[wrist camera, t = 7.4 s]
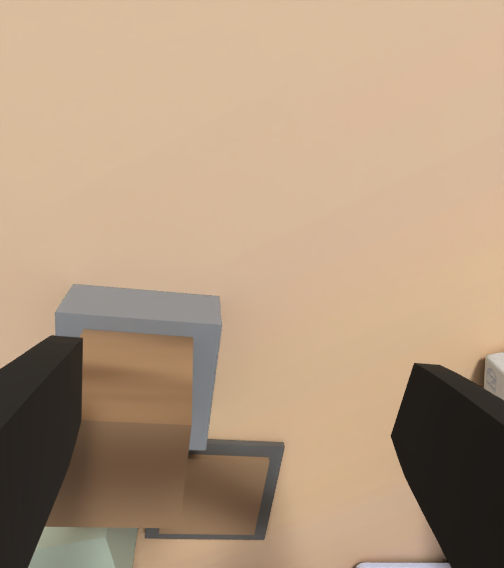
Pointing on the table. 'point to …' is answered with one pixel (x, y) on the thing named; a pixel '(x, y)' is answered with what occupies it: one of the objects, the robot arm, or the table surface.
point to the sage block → (85, 548)
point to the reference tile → (227, 491)
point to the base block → (154, 331)
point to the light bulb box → (494, 374)
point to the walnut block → (129, 433)
